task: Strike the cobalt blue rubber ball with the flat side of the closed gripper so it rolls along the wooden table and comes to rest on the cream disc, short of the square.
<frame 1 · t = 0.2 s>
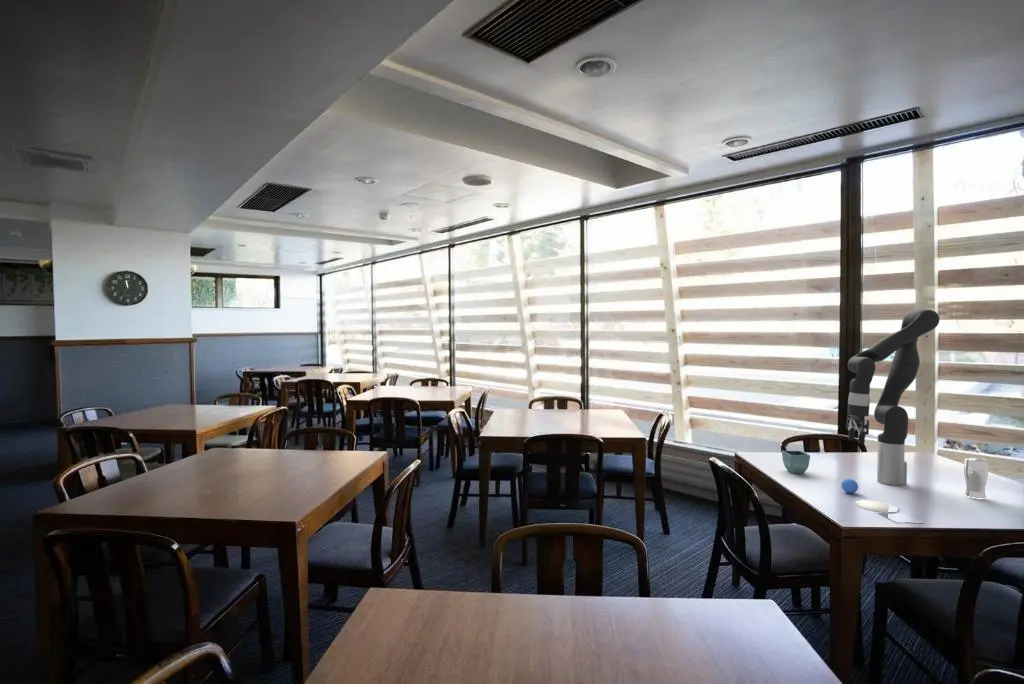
hand: (856, 441, 216), 18 cm above the table, tool pointing down, fingers open, 8 cm apart
ball: (849, 485, 202), on the table
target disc: (876, 506, 186), on the table
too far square: (900, 518, 174), on the table
beer glass: (975, 498, 196), on the table
flower pot: (795, 472, 233), on the table
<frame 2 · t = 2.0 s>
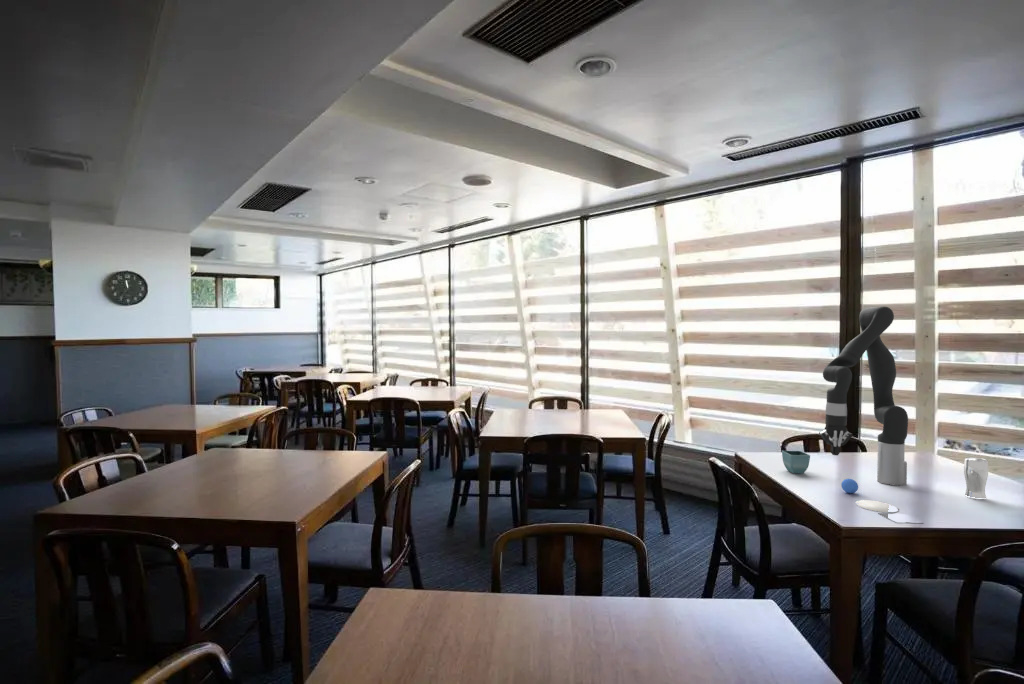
hand: (835, 454, 212), 13 cm above the table, tool pointing down, fingers closed
nothing on the table moved.
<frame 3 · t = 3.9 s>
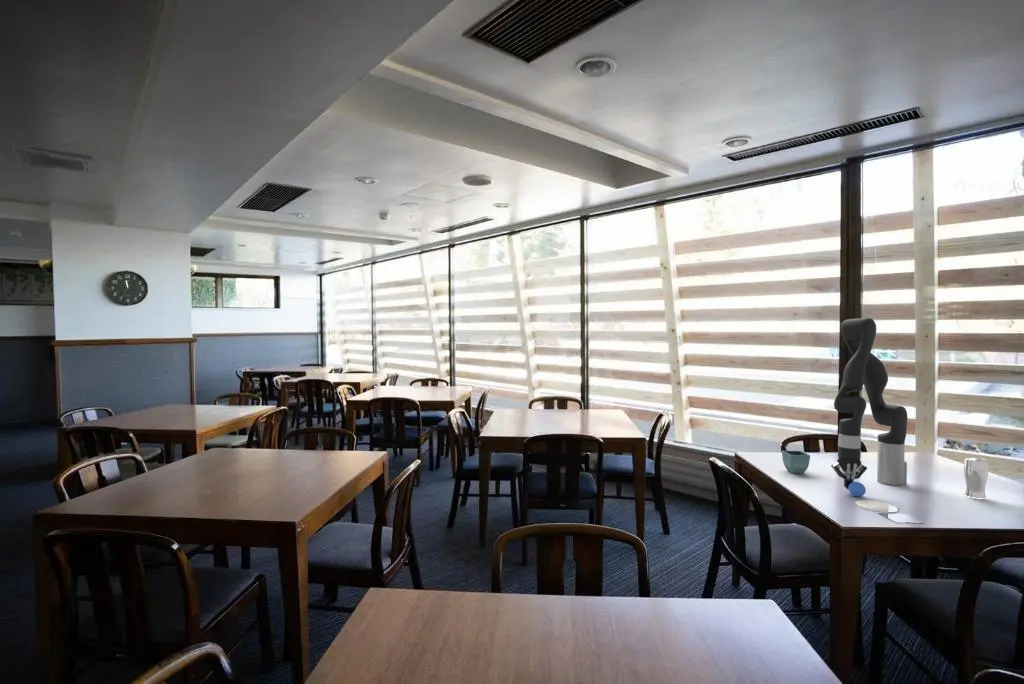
hand: (848, 488, 202), 2 cm above the table, tool pointing down, fingers closed
ball: (856, 489, 198), on the table, touching gripper
everything else where it was.
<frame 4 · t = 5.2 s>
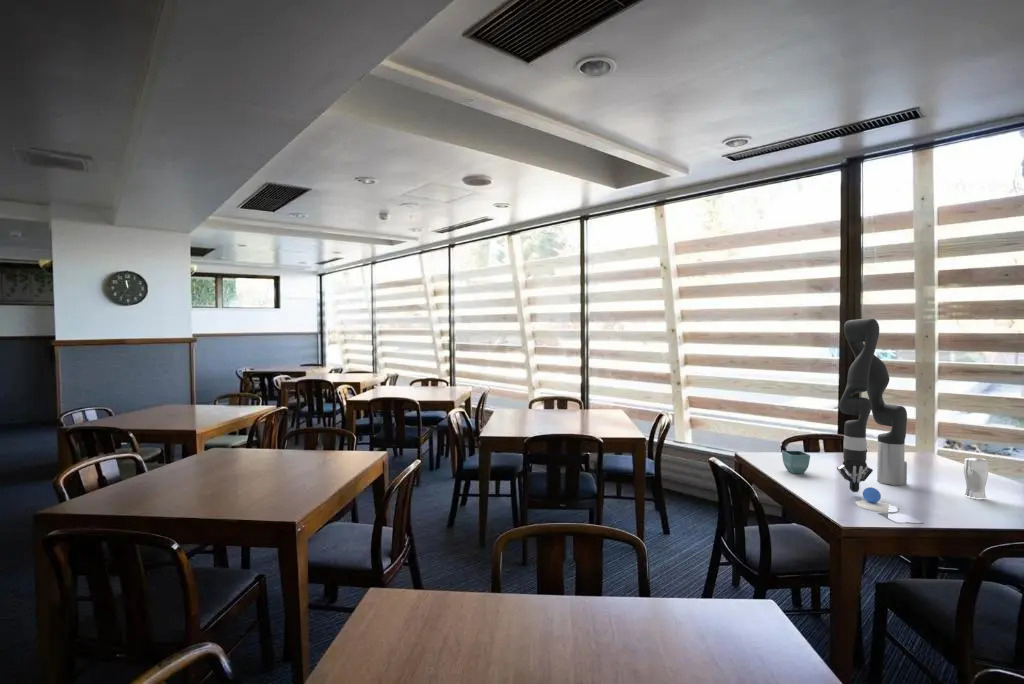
hand: (854, 491, 199), 2 cm above the table, tool pointing down, fingers closed
ball: (871, 495, 191), on the table
everything else where it was.
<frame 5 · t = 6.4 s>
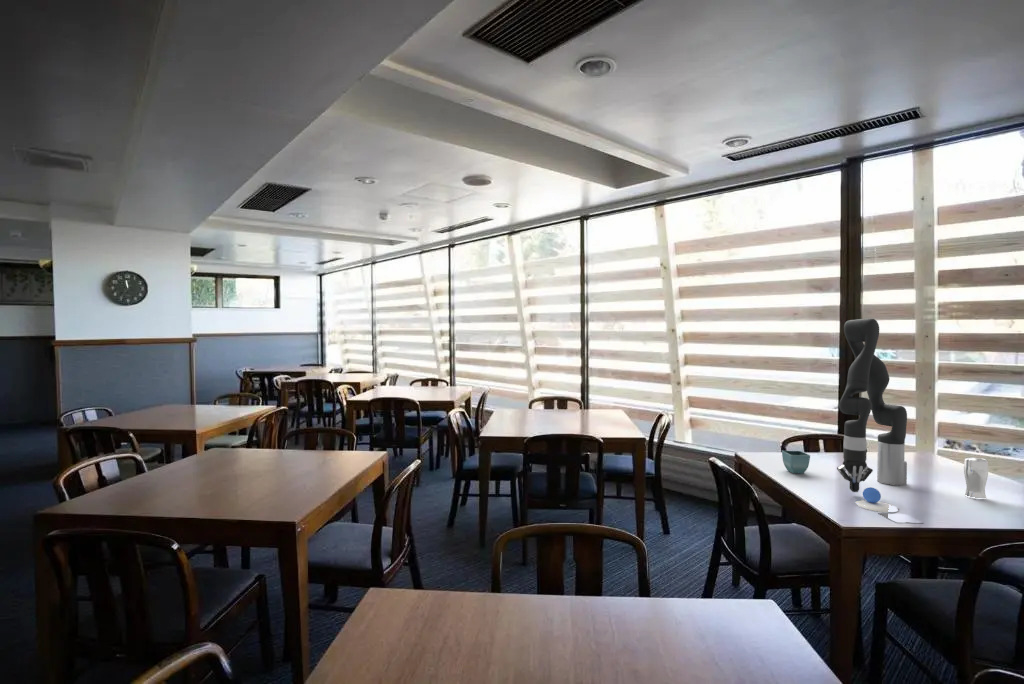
hand: (854, 491, 199), 2 cm above the table, tool pointing down, fingers closed
nothing on the table moved.
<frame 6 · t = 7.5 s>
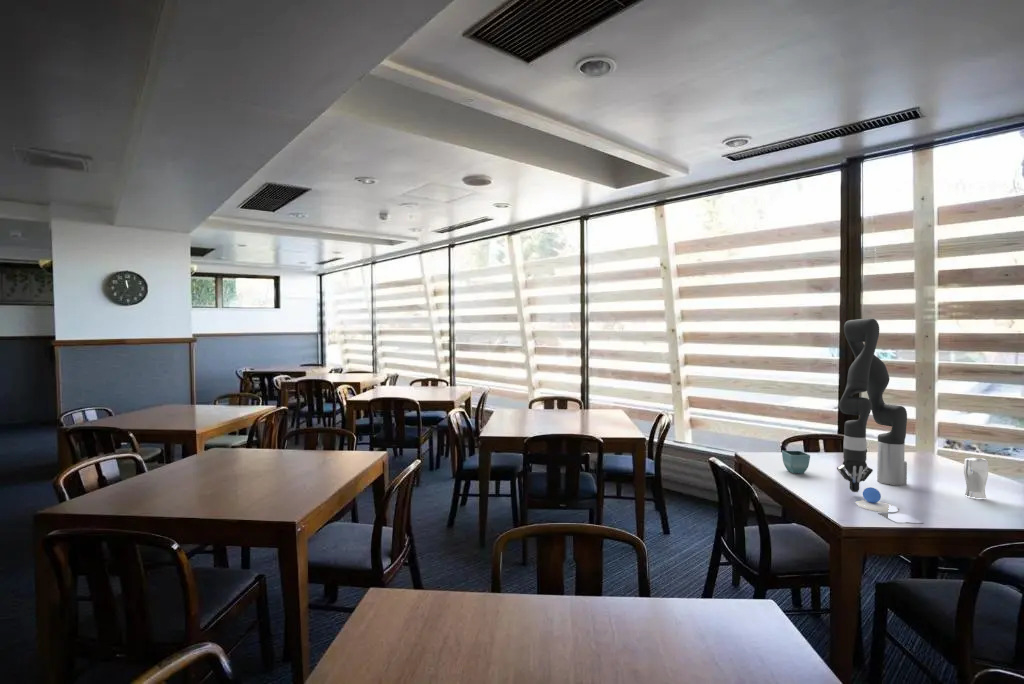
hand: (854, 491, 199), 2 cm above the table, tool pointing down, fingers closed
nothing on the table moved.
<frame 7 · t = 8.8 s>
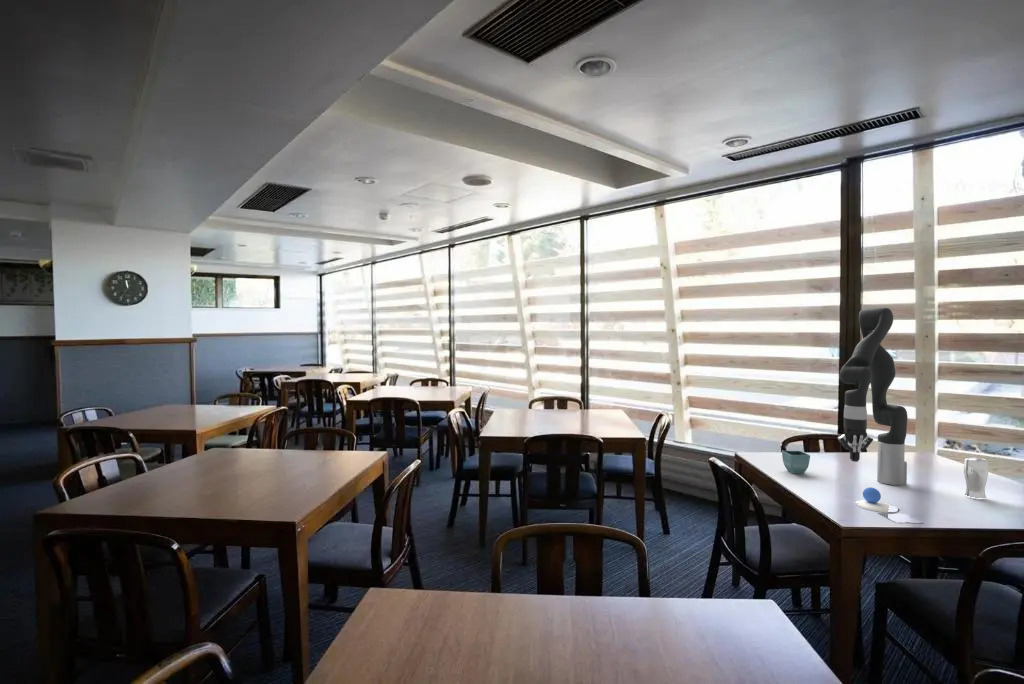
hand: (854, 461, 199), 13 cm above the table, tool pointing down, fingers closed
nothing on the table moved.
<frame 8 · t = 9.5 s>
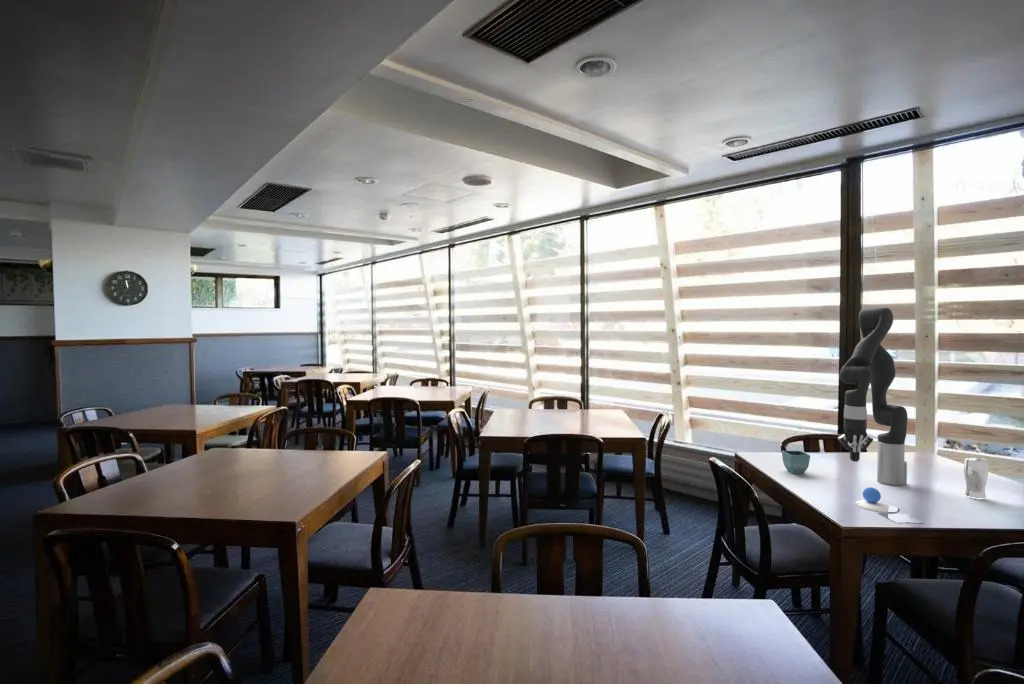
hand: (854, 461, 199), 13 cm above the table, tool pointing down, fingers closed
nothing on the table moved.
at the end: ball 4.6 cm from the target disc (horizontally); ball at rest at the end (0.0 cm/s); ball moved 11.6 cm from its start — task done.
